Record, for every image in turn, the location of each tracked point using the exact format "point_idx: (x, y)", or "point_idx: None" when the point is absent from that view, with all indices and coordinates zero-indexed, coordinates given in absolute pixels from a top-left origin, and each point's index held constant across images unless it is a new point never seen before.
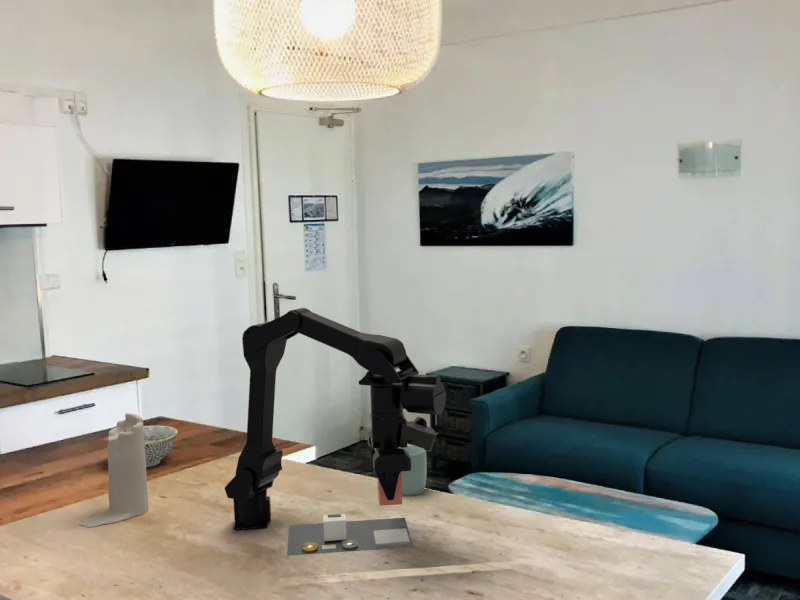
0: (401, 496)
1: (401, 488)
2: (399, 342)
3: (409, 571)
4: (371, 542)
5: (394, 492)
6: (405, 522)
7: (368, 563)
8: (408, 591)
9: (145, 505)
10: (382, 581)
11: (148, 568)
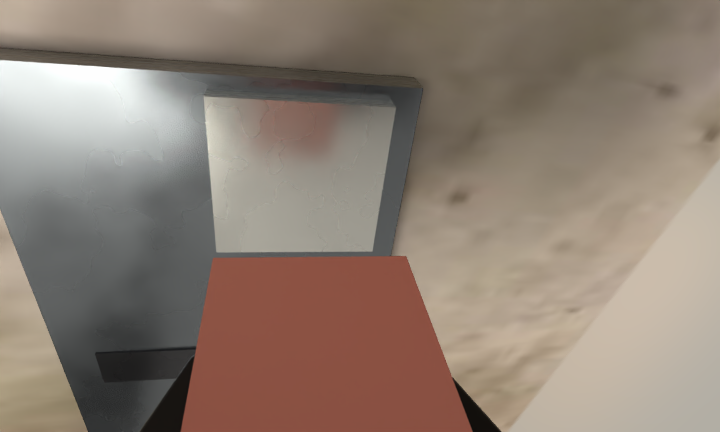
0: (423, 307)
1: (444, 369)
2: None
3: (575, 126)
4: (318, 254)
5: (464, 395)
6: (42, 66)
7: (441, 253)
8: (710, 154)
9: None
10: (593, 222)
11: None
